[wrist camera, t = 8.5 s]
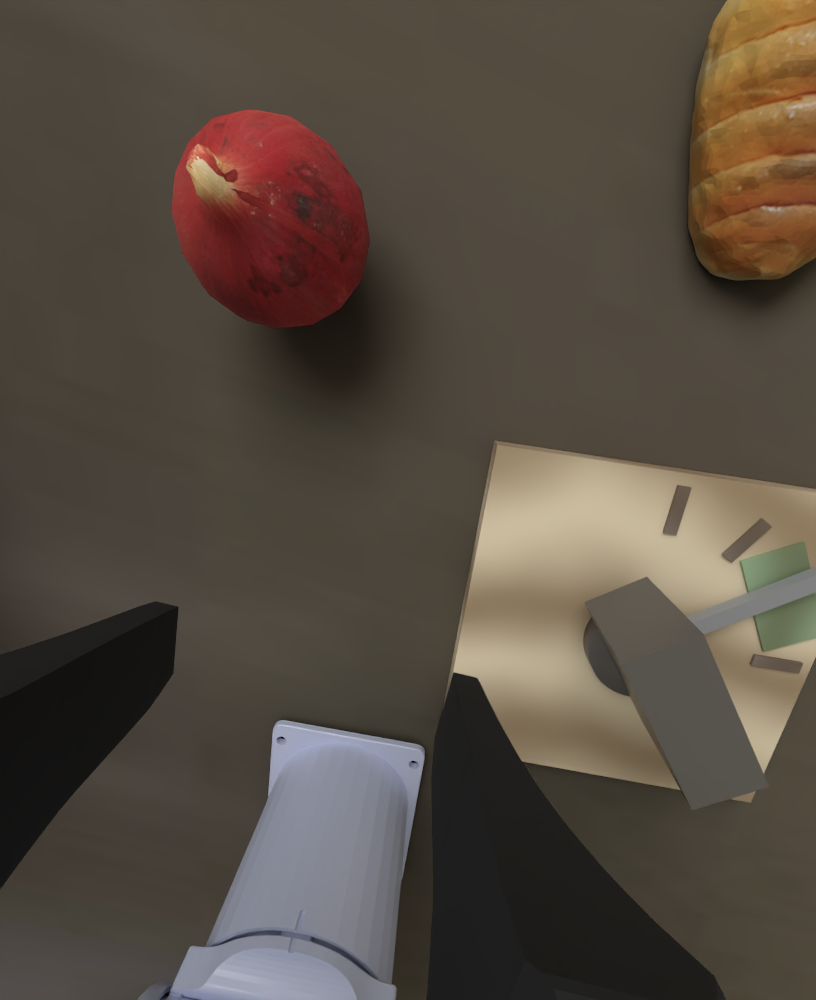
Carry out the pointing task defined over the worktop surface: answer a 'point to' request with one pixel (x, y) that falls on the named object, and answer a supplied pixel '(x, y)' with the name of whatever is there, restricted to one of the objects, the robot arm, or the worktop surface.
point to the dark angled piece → (683, 680)
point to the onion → (270, 219)
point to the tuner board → (613, 564)
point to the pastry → (755, 141)
